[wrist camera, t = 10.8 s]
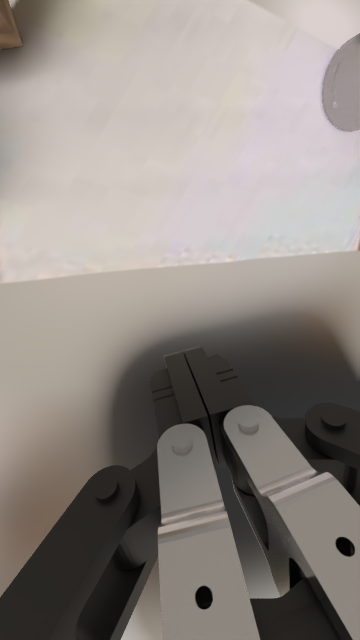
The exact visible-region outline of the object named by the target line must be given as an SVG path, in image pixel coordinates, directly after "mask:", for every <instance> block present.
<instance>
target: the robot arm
mask: <svg viewBox="0 0 360 640" xmlns="http://www.w3.org/2000/svg"><path fill="white" fill-rule="evenodd" d="M322 96H323V105H324V110H325V113H326V115H327V117H328V119H329V120H330V122H331V123H332V124H333V125H334V126H335V127H337V128H338V129H341V130H343V131H354V130H359V129H360V34H358V35H356V36H355V37H353V38H352V39H350V40H349V41H347V42H346V43H345V44H343V45H342V47H341V48H340V49H339V50H338V51H337V52H336V54H335V55H334V57H333V58H332V60H331V62H330V64H329V66H328V69H327V71H326V74H325V78H324V82H323V91H322ZM183 354H184V355H183ZM164 358H165V362H166V366H167V369H163V370H159V371H156V372H154V373H153V375H152V378H151V380H150V385H151V390H152V397H153V403H154V408H155V414H156V420H157V426H158V431H159V441H158V445H157V447H156V449H155V450H154V452H153V453H152V454H151V456H150V457H149V458H148V459H147V460H145V461H144V462H142V463H141V464H140V465H138V466H136V467H135V468H133V469H131V470H129V469H128V468H126V467H123V466H118V465H115V466H110V467H106V468H104V469H102V470H100V471H98V472H97V473H96V474H94V475H93V476H92V477H91V478H90V479H89V480H88V482H87V483H86V484H85V485H84V487H83V488H82V489H81V491H80V492H79V493H78V495H77V496H76V497H75V499H74V500H73V501H72V503H71V504H70V505H69V507H68V508H67V509H66V511H65V512H64V514H63V515H62V516H61V517H60V519H59V520H58V521H57V523H56V524H55V525H54V527H53V528H52V529H51V531H50V532H49V533H48V535H47V536H46V537H45V539H44V540H43V541H42V543H41V544H40V545H39V547H38V548H37V549H36V551H35V552H34V553H33V555H32V556H31V557H30V559H29V560H28V561H27V563H26V564H25V565H24V567H23V568H22V569H21V571H20V572H19V573H18V575H17V576H16V577H15V579H14V580H13V581H12V583H11V584H10V585H9V587H8V588H7V589H6V591H5V592H4V593H3V595H2V596H1V597H0V640H120V639H121V637H122V635H123V633H124V631H125V628H126V626H127V624H128V622H129V619H130V617H131V615H132V612H133V610H134V608H135V606H136V604H137V602H138V599H139V597H140V595H141V593H142V590H143V588H144V586H145V584H146V581H147V579H148V577H149V575H150V572H151V570H152V568H153V565H154V564H155V562H156V559H157V556H158V555H159V574H160V595H161V612H162V614H161V615H162V633H163V640H360V412H359V411H357V410H354V409H351V408H348V407H344V406H341V405H338V404H333V403H321V404H317V405H314V406H312V407H311V408H310V409H308V411H307V412H306V414H305V418H277V417H273V416H271V415H270V414H269V413H268V412H267V411H265V410H264V409H262V408H260V407H257V406H256V405H255V403H254V402H253V400H252V398H251V397H250V395H249V394H248V392H247V390H246V389H245V387H244V386H243V384H242V383H241V381H240V379H239V378H238V377H237V375H236V373H235V372H234V371H233V368H232V367H231V365H230V364H229V362H228V361H227V360H226V359H224V358H223V357H221V356H219V355H214V356H210V357H207V355H206V354H205V352H204V350H203V348H202V347H201V346H198V347H194V348H190V349H187V350H183V353H182V351H180V352H176V353H172V354H169V355H165V356H164ZM216 459H217V462H218V464H219V467H220V468H223V467H226V466H228V469H229V471H230V474H231V476H232V481H233V487H234V490H235V493H236V495H237V497H238V499H239V501H240V503H241V505H242V508H243V510H244V512H245V514H246V516H247V518H248V520H249V522H250V524H251V526H252V529H253V531H254V533H255V535H256V537H257V539H258V541H259V543H260V546H261V548H262V550H263V552H264V554H265V556H266V559H267V561H268V564H269V567H270V570H271V574H272V577H273V580H274V582H275V585H276V587H277V590H278V592H279V595H280V597H279V598H274V599H249V595H248V591H247V588H246V583H245V580H244V576H243V572H242V568H241V564H240V560H239V557H238V553H237V549H236V546H235V541H234V538H233V534H232V530H231V526H230V523H229V519H228V515H227V512H226V509H225V507H224V504H223V500H222V496H221V492H220V488H219V485H218V481H217V476H216V471H215V470H217V469H218V467H217V462H216Z"/></svg>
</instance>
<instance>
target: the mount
mask: <svg viewBox="0 0 360 640" xmlns="http://www.w3.org/2000/svg"><path fill="white" fill-rule="evenodd" d="M21 46H23V44H22V41H21V38H20V35H19V32H18V29H17V26H16V23H15V19H14V16H13V13H12V10H11V7H10V4H9V1H8V0H0V50H1V49H8V48H14V47H21Z"/></svg>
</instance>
